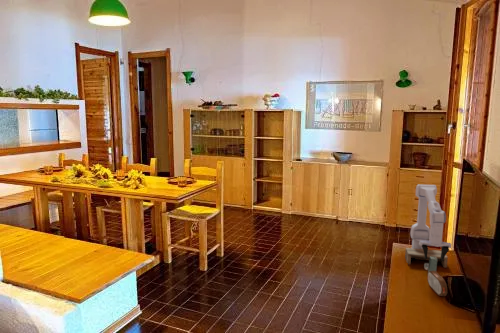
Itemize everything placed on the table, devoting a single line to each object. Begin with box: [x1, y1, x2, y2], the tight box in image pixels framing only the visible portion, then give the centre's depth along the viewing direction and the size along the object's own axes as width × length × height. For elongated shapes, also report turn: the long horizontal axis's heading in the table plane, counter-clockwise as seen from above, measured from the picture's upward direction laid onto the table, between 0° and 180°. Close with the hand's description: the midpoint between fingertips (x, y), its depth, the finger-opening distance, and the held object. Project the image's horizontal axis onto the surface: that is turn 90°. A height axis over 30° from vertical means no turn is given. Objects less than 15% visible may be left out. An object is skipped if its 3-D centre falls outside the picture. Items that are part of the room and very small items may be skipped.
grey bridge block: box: [404, 247, 449, 269], centre depth 208 cm, size 9×20×6 cm, turn 76°
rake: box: [423, 256, 438, 273], centre depth 196 cm, size 11×4×10 cm, turn 166°
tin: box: [427, 270, 448, 297], centre depth 177 cm, size 15×3×8 cm, turn 179°
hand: (433, 259), depth 191 cm, fingers open, 7 cm apart
